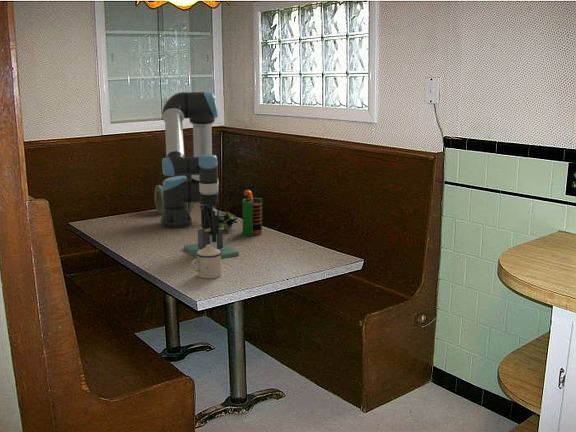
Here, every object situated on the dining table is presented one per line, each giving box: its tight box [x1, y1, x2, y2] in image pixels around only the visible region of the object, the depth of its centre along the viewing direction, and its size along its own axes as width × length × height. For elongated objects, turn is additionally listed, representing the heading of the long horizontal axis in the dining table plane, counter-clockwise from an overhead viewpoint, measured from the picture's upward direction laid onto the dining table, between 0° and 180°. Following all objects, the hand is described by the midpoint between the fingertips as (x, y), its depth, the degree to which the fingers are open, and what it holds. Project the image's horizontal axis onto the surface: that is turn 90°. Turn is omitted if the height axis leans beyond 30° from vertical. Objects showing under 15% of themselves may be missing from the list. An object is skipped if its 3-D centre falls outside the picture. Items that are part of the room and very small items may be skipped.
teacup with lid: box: [190, 245, 222, 280], centre depth 236 cm, size 12×9×12 cm
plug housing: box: [197, 228, 224, 250], centre depth 266 cm, size 5×9×8 cm, turn 121°
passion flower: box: [219, 211, 238, 234], centre depth 299 cm, size 11×11×12 cm
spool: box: [153, 184, 195, 215], centre depth 338 cm, size 16×15×15 cm
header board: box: [183, 242, 240, 259], centre depth 267 cm, size 20×16×4 cm
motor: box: [242, 189, 263, 237], centre depth 294 cm, size 10×9×20 cm
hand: (210, 247), depth 267 cm, fingers closed on plug housing, 5 cm apart
